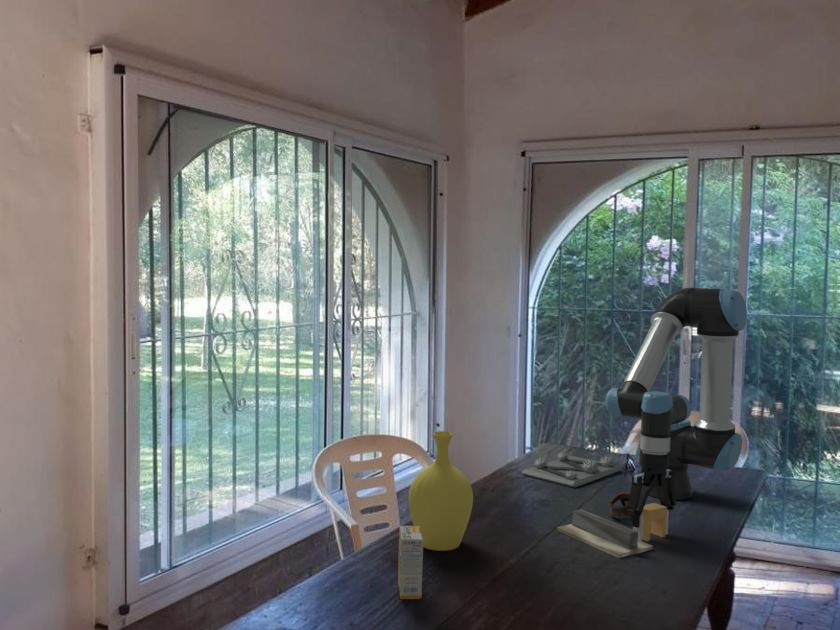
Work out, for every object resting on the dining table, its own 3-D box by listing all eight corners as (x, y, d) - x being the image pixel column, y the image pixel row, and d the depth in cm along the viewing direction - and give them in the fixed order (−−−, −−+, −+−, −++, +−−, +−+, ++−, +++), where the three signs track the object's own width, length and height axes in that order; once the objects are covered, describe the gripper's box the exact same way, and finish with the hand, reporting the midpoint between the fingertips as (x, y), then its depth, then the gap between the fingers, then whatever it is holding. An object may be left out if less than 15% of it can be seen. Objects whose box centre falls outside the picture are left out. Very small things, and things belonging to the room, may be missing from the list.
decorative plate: (568, 461, 291) (569, 441, 290) (622, 473, 276) (623, 453, 276) (519, 476, 269) (520, 455, 268) (575, 490, 254) (576, 468, 254)
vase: (478, 537, 207) (482, 430, 205) (461, 559, 192) (465, 443, 190) (419, 529, 212) (422, 424, 210) (398, 549, 197) (401, 436, 195)
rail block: (589, 523, 221) (590, 505, 220) (652, 549, 202) (653, 530, 202) (557, 530, 214) (557, 512, 214) (618, 558, 196) (619, 538, 195)
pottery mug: (652, 526, 222) (641, 502, 220) (619, 538, 224) (608, 514, 221) (643, 502, 233) (632, 479, 231) (612, 514, 235) (601, 491, 233)
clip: (653, 532, 215) (654, 502, 215) (665, 536, 212) (666, 506, 212) (635, 536, 212) (636, 506, 211) (646, 541, 208) (648, 510, 208)
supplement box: (396, 583, 177) (398, 525, 176) (418, 583, 177) (420, 525, 176) (399, 599, 168) (400, 538, 167) (422, 599, 169) (423, 538, 168)
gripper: (671, 444, 219) (666, 525, 221) (614, 452, 207) (610, 538, 209) (693, 450, 213) (689, 533, 215) (636, 459, 201) (632, 547, 203)
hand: (650, 535), depth 212 cm, fingers open, 9 cm apart
